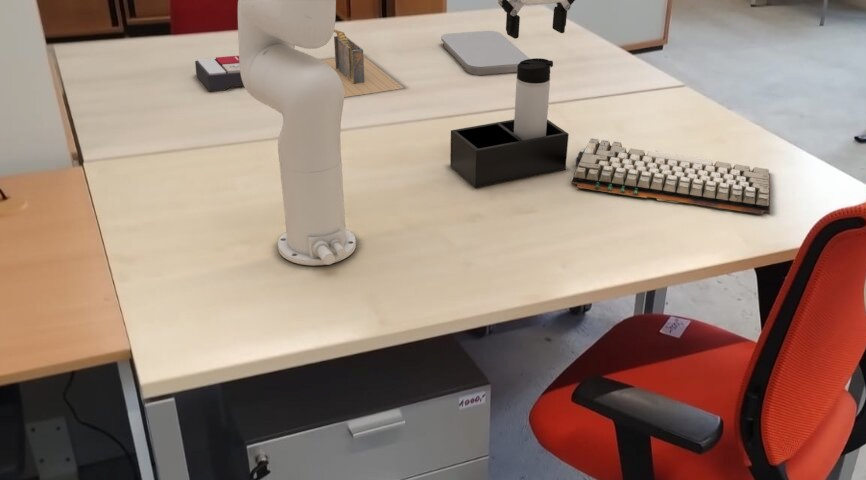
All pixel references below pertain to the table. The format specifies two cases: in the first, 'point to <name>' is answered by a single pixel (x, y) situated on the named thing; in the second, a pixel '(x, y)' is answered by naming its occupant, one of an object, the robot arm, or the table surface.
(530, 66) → the travel mug
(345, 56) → the architectural model on board
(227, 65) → the calculator
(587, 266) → the table surface
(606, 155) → the mechanical keyboard
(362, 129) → the table surface
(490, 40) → the grey flat block
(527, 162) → the caddy
